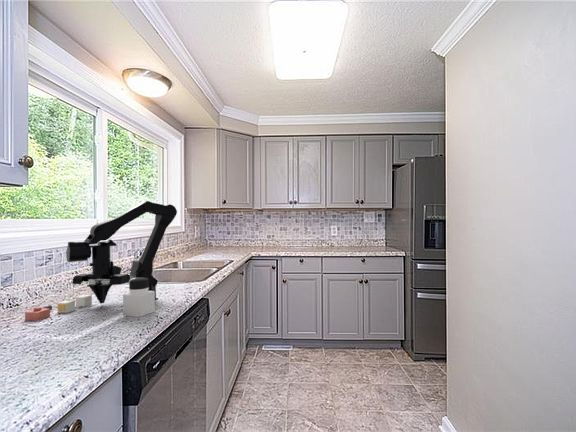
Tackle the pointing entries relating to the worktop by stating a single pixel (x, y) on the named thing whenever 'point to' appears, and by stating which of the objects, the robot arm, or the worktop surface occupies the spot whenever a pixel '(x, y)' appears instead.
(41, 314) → the cap
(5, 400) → the worktop surface
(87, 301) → the white square block
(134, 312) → the medicine bottle
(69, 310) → the matte white cube
